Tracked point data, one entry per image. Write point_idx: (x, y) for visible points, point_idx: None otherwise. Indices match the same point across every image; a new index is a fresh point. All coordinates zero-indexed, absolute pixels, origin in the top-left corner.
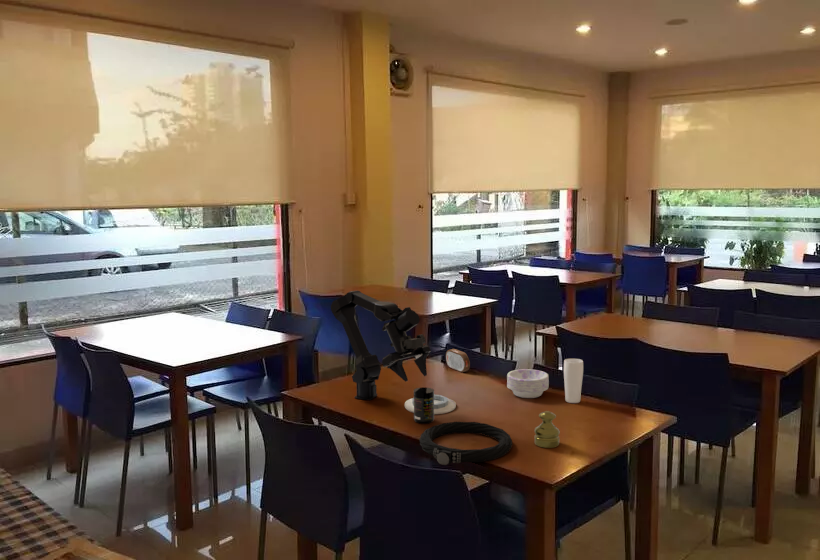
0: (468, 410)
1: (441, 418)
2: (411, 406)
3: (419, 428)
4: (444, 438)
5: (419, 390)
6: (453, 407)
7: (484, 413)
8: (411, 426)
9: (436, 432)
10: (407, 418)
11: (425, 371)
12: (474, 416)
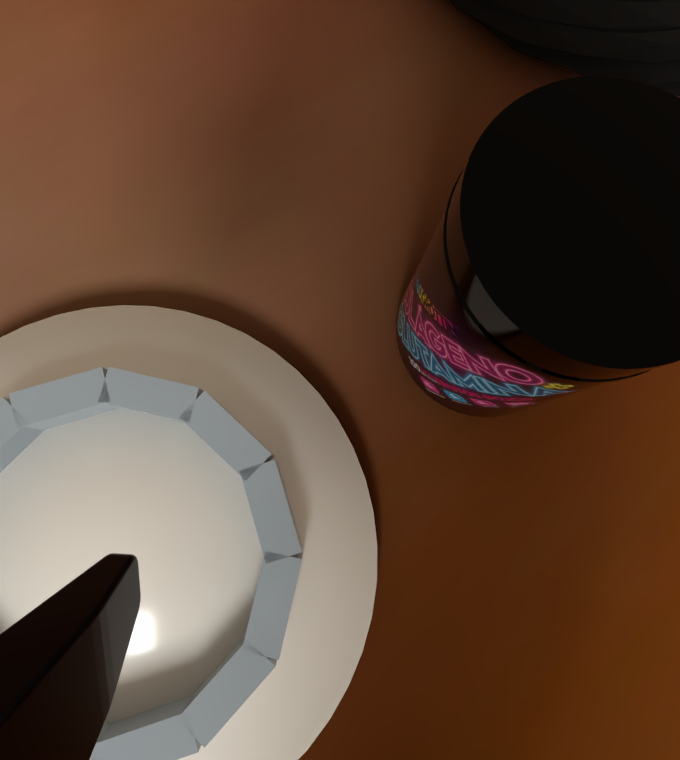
0: (15, 213)
1: (334, 263)
2: (309, 646)
3: None
4: None
5: (666, 260)
6: (74, 312)
7: (7, 74)
8: None
9: None
10: (526, 484)
11: (90, 600)
12: (123, 94)
